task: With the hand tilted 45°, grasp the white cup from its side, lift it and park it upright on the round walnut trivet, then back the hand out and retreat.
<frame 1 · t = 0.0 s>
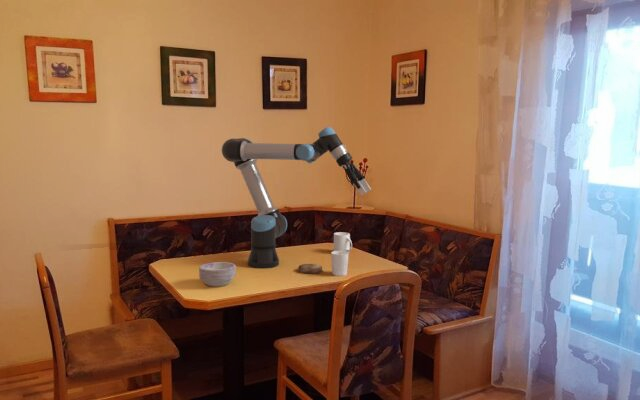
hand: (366, 192, 248), 36 cm above the table, tool tilted 35°, fingers open, 13 cm apart
grey bowl: (217, 284, 219), on the table
white cup: (339, 274, 236), on the table
mug: (343, 254, 277), on the table
trivet: (310, 270, 241), on the table
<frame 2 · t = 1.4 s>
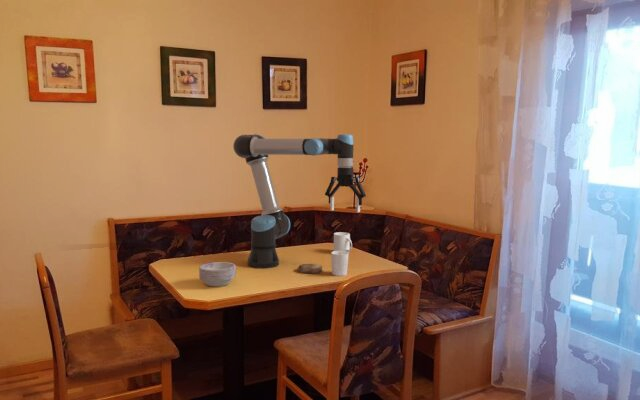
hand: (345, 211, 248), 27 cm above the table, tool pointing down, fingers open, 13 cm apart
nothing on the table moved.
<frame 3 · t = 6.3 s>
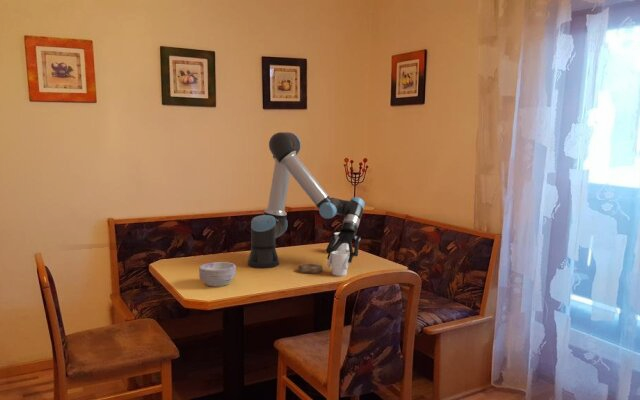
hand: (336, 266, 233), 4 cm above the table, tool tilted 45°, fingers closed on white cup, 8 cm apart
white cup: (339, 274, 236), on the table, touching gripper
everything else where it was.
when the fingers open (7 cm above the table, at t = 11.2 s): white cup stays where it is, resting on trivet.
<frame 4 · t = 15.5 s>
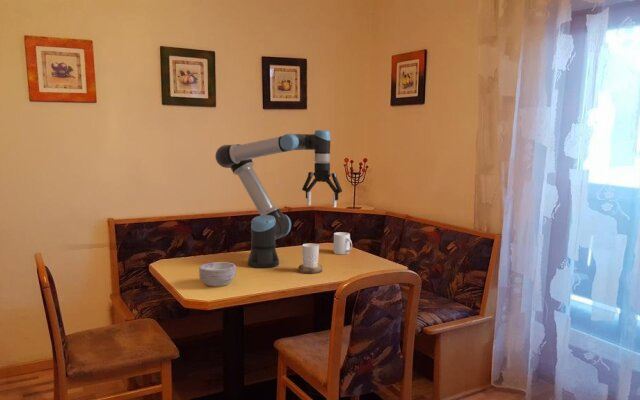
hand: (321, 206, 251), 29 cm above the table, tool pointing down, fingers open, 13 cm apart
white cup: (310, 266, 241), point 2 cm above the table, touching trivet
everything else where it was.
at the end: white cup inside the target area on the trivet (0.1 cm from its centre), point 2.0 cm above the trivet's base; white cup tilted 0°; the gripper is holding nothing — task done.
